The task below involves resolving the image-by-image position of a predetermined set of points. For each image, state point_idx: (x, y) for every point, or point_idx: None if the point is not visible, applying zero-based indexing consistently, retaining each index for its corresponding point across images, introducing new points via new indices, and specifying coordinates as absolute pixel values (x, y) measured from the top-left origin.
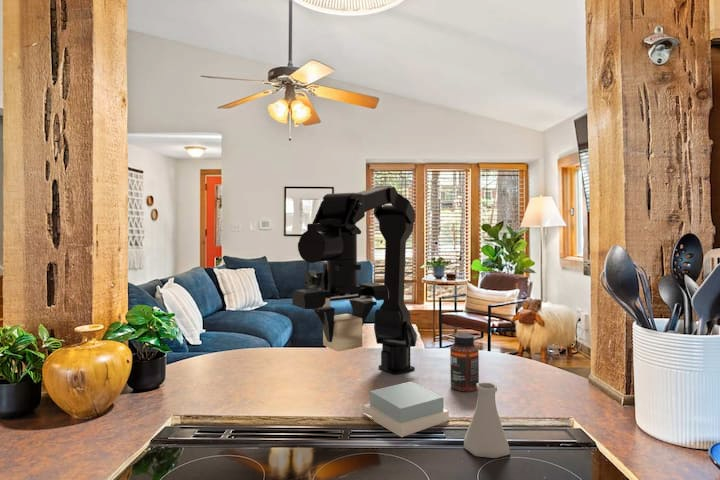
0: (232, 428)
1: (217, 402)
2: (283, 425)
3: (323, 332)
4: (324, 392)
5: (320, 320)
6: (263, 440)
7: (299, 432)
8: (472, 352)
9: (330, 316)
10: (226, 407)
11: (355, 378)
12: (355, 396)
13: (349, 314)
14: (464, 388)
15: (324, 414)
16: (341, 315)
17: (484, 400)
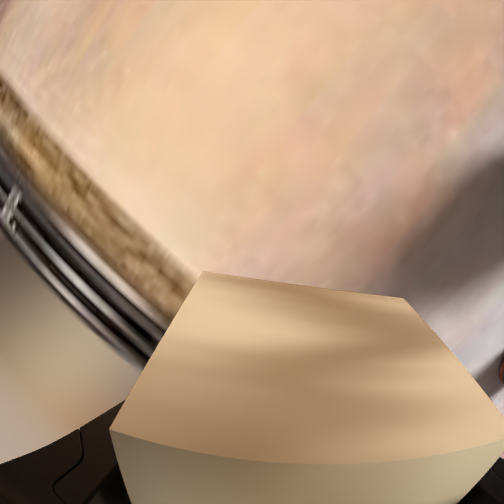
0: (20, 190)
1: (55, 35)
2: (92, 251)
3: (177, 320)
4: (305, 133)
5: (49, 459)
6: (45, 280)
7: (106, 304)
8: None
9: None
10: (51, 72)
11: (450, 121)
12: (355, 231)
13: (481, 477)
14: (501, 379)
15: (200, 270)
16: (397, 494)
17: None
